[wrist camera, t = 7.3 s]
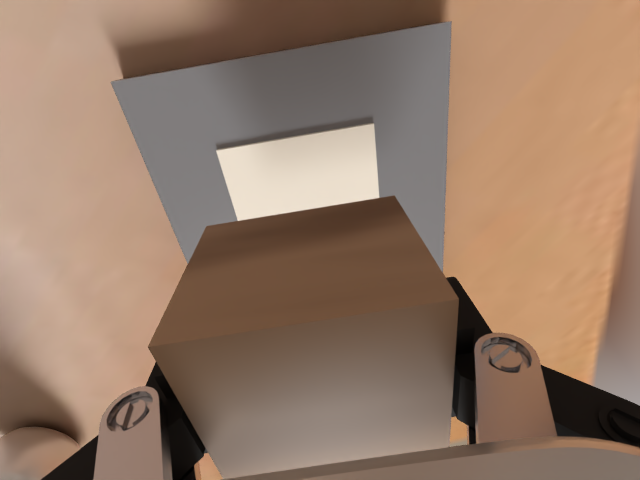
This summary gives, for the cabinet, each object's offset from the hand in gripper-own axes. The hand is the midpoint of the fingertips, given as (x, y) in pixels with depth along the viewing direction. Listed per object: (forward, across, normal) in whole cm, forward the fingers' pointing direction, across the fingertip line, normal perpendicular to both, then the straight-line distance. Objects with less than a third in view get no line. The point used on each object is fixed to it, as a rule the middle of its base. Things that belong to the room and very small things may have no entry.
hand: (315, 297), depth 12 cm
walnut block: (+1, 0, 0) cm, 1 cm away
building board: (+8, 0, 0) cm, 8 cm away
